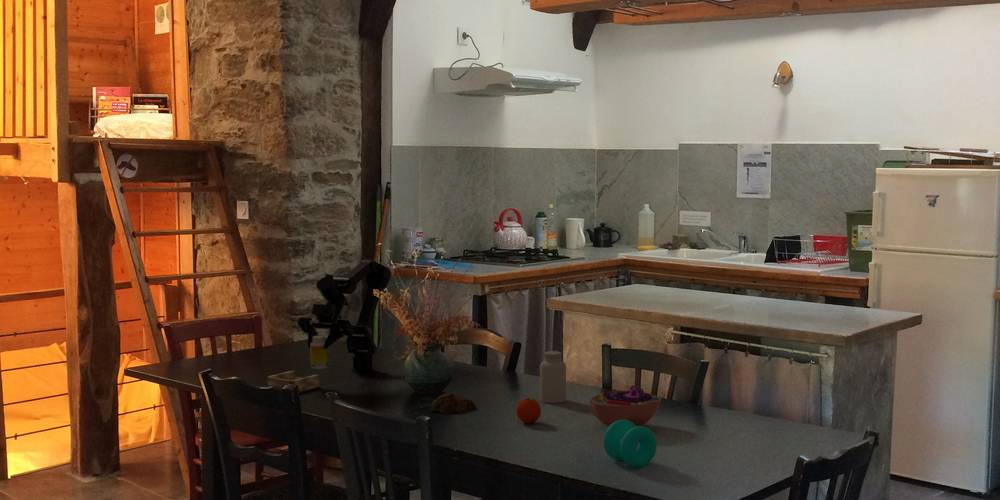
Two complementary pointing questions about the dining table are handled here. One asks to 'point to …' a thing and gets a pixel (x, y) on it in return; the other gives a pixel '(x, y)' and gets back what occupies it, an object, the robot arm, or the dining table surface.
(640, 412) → the cell model
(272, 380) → the caddy
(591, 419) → the dining table surface
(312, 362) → the supplement bottle
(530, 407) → the tomato
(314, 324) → the robot arm
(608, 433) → the green spool
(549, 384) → the pill bottle
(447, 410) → the bread roll
